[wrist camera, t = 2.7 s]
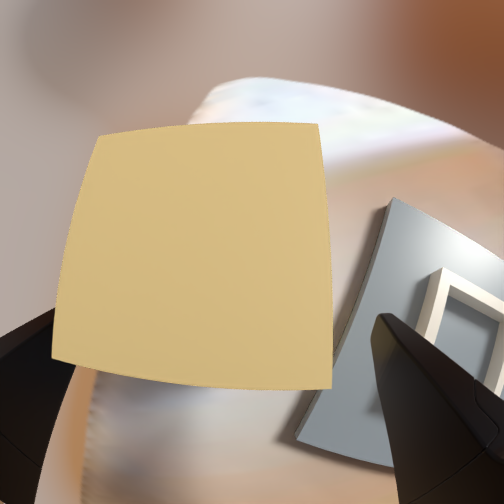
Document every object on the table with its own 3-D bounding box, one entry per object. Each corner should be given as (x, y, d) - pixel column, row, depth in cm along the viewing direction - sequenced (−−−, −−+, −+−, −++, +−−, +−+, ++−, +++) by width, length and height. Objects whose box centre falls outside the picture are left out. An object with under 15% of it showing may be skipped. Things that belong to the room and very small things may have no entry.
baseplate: (472, 473, 12) (492, 482, 9) (294, 433, 14) (299, 448, 12) (528, 288, 16) (548, 280, 13) (387, 205, 19) (401, 185, 16)
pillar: (281, 356, 16) (331, 389, 4) (203, 353, 16) (51, 358, 4) (282, 281, 17) (317, 123, 5) (207, 279, 18) (99, 136, 5)
